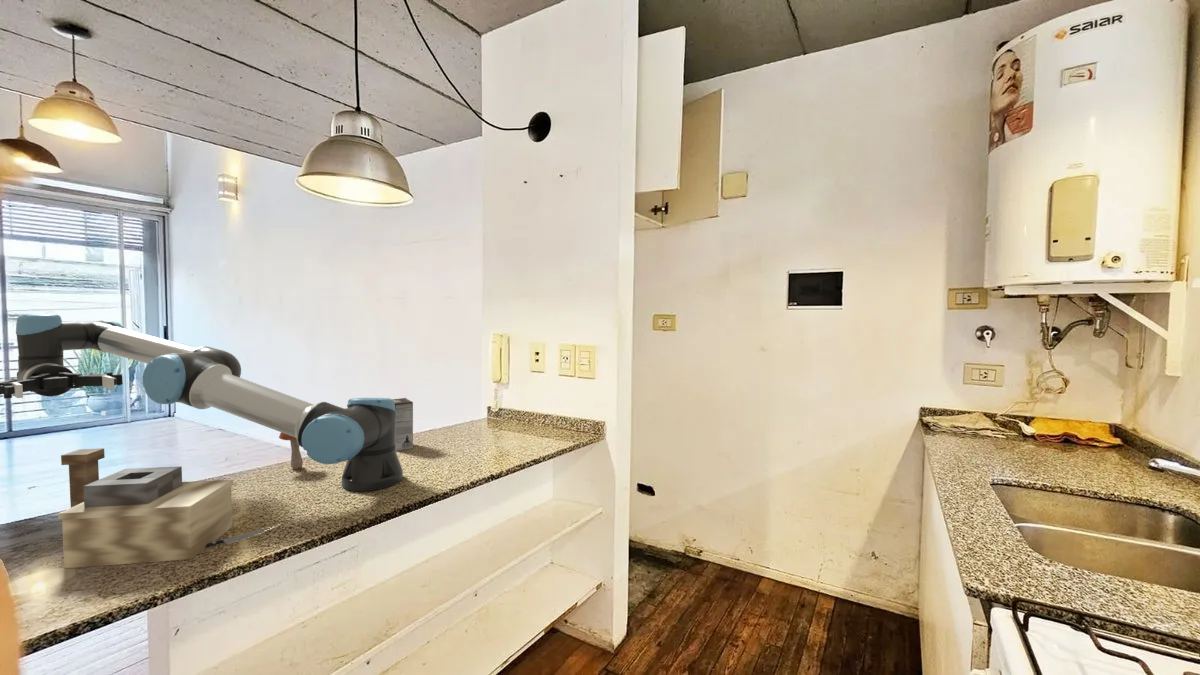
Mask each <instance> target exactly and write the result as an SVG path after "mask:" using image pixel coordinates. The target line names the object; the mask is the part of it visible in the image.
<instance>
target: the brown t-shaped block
mask: <svg viewBox="0 0 1200 675" xmlns="http://www.w3.org/2000/svg"><path fill="white" fill-rule="evenodd" d="M104 458H106V457H105V448H80V449H77V450H73V451H71V452H67V453H63V454H61V455H60V461H61V466H68V475H69V476H68V478H69V480H68V481H69V497H70V498H69V500H70V508H72V507H74V506H76V505H78V504H80V503H83V502H84V488H83V486H85V485H87V484H90V483H92V482H95V481H97V480H100V476H99V475H100V474H99V471H100V470H99V460H102V459H104Z"/></svg>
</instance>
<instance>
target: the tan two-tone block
mask: <svg viewBox="0 0 1200 675" xmlns="http://www.w3.org/2000/svg"><path fill="white" fill-rule="evenodd" d="M233 486H234V479H217V480H216V479H215V480H198V481H195V480H194V481H183V467H182V466H166V467H165V466H163V467H157V466H156V467H138V468H133V467H132V468H124V469H121V470H118V471H117V472H114V473H112V474H110V475H109V474H108V475H107V476H105V477H102V478H99V480H97V481H95V482H92V483H90V484H87V485H85V486H83V488H84V502H83V503H80V504H78V505H76V506H74V507H72V508H71V507H70V508H67V509H65V510H63V511H61V512H59V513H57V515H58V516H57V517H58V518H57V519H58V521H61V528H62V548H63V551H62V552H63V568H64V569H74V568H88V567H100V566H101V567H102V566H116V565H129V564H141V563H145V564H146V563H155V562H168V561H169V562H171V561H183V560H186V561H187V560H192V559H193V558H195V557H196V556H197V555H198V554H199V553H201V552H203V550H204V549H206V548H205V547H206V545H207V544H208V543H211V542H215V541H217V540H218V539H219V538H220V537H221V536H223V535H224V534H225V533H226V532H227V530H228V531H229V530H230V529H232V528H233V506H232V505H233V503H232V499H233V498H232V487H233Z"/></svg>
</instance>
